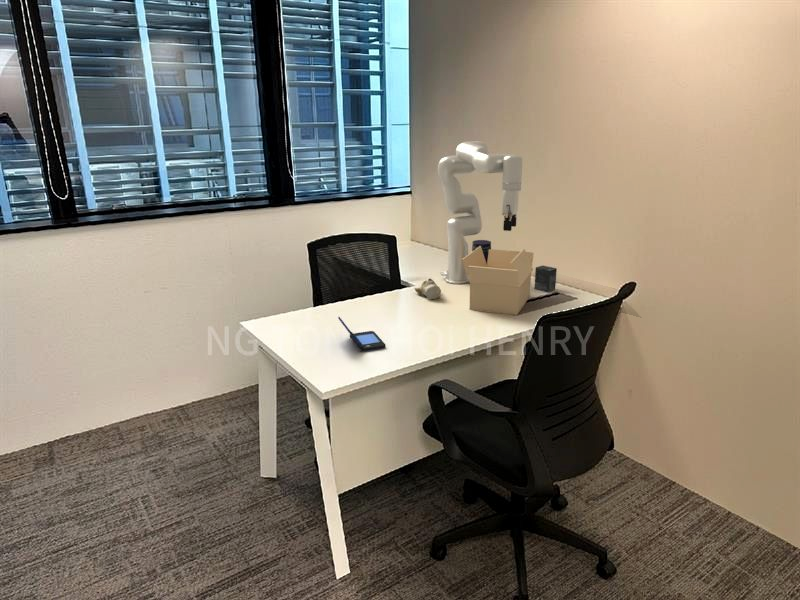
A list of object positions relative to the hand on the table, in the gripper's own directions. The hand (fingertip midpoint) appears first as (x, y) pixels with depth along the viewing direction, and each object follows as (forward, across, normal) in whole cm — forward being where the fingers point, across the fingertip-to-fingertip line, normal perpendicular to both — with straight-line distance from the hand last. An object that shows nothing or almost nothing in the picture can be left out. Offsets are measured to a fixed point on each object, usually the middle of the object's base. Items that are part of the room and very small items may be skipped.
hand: (509, 228), depth 220 cm
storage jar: (+32, -48, -24) cm, 63 cm away
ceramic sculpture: (+33, +3, -34) cm, 47 cm away
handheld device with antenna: (+33, +62, -39) cm, 81 cm away
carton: (+32, +2, -4) cm, 33 cm away
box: (+32, -23, +13) cm, 42 cm away
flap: (+15, +2, +6) cm, 17 cm away
